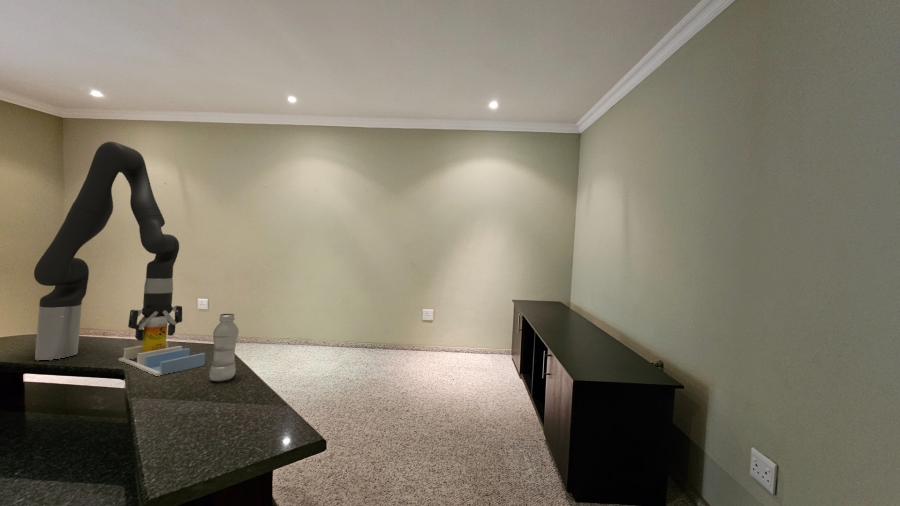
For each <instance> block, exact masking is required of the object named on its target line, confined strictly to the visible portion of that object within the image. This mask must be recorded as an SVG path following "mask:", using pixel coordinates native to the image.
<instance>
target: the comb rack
mask: <svg viewBox="0 0 900 506" xmlns="http://www.w3.org/2000/svg"><path fill="white" fill-rule="evenodd" d="M190 353H191V348H189V347H187V348H186V347H185V348H183V346H182V345H178V346H177V345H176V346H172V347H169V341H167V340H166V347H165V349H160V350H154V351H149V352H143V353H142V345H138V346H137V345H136V346H130V347H124V348H123V356H122V357H119V358H118V360H119V361H122V362H125V363H127V364H130V365H133V366H135V367H137V368H139V369H141V370H143V371H146V372H148V373H150V374H149V375H151V374H153V375H155V376H159V377H161V376H160V375H163V376H165V375H164V374H167V375H169V374H168V373H171V374H174V373H173V372H175V373H178V371H179V372H182V371H187V370H190V369H195V368H199V367H203V366H204V367H205V364H206V353H205V352H202V353H197V354H191V355H190ZM134 357H137V359H136V361H135V360H134V361H133V360H129V359H130V358H134ZM119 361H118V362H119ZM122 362H121V363H122ZM144 364H145V365H144ZM141 370H140V371H141ZM143 371H142V372H143ZM146 372H145V373H146ZM148 373H147V374H148ZM153 375H152V376H153ZM155 376H154V377H155Z"/></svg>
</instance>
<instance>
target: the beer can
mask: <svg viewBox="0 0 900 506" xmlns="http://www.w3.org/2000/svg"><path fill="white" fill-rule="evenodd" d="M146 319H147V318H145V320H146ZM168 324H169V323H168V319H167V317H166V316H161V317H153V318H152V319H151V321H150V322H149V323H148V324H146V326H145V327H144V328H143V330H144V334H143V340H142V343H141V344H142V345H141V346H142V353H143V352H149V351H154V350H160V349H165V347H166V341H167V335H168Z"/></svg>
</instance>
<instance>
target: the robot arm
mask: <svg viewBox="0 0 900 506" xmlns="http://www.w3.org/2000/svg"><path fill="white" fill-rule="evenodd" d="M119 173H121V174H122V175H123V176H124V177H125V179H126V181H127V182H128V185H129V188H130V200H129V202H130V203H129V204H130V210H131V211H132V214H133V215H134V216H133V217H134V218H135V220H136V222H137V225H138V227H139V230H138V232H139V236H140V237H139V238H140V243H141V245H142V247H143V249H144V250H146V252H147V253H149V254H153V255H155V256H154V259H153V260H151V261H149V262H148V263H147V265H146V271H145V272H146V273H145V281H144V284H143V285H144V286H143V287H144V289H143V290H144V291H143V300H142V302H143V303H142V305H143V307H142V309H131V310H130V311H129V318H128V328H129V329H133V330H135V336H134V337H135V339H136V340H137V341H139V342H140V341H142V342H143V334H144V327H145V326H146V324H148V323H149V322H150V321H151V319H152V318H153V317H161V316H166V317H167V319H168V323H167V335H168V336H170V337H171V336H174V334H175V332H176V325H177V324H179V323H182V322H183V306H181V305H175V306H173V305H172V304H173V294H174V293H173V291H174V281H173V280H174V279H173V277H174V266H175V263H176V260H177V257H178V254H179V250H180V242H179V240H178V238H177V237H176V236H175V235H172V234H169V233H165V234H164V233H163V231H162V228H163V227H164V226H165V224H166V221H165V218H164V217H163V213H162V211H161V209H160V208H159V207H160V206H159V205H158V202H157V201H156V198H155V196H154V192H153V189H152V186H151V182H150V181H151V180H150V178H149V174H148V170H147V165H146V162H145V158H144V156H143V155H142V154H141V153H140V152H139V151H138V150H136V149H134V148H132V147H129V146H127V145H124V144H121V143H119V142H115V141H107V142H103V143H102V144H100V146H99V147H98V148H97V149H96V151H95V153H94V155H93V158H92V161H91V163H90V166H89V169H88V172H87V175H86V176H85V177H86V178H85V180H84V181H83V183H82V186H81V188H80V190H79V192H78V194H77V196H76V198H75V200H74V201H73V203H72V205H71V207H70V209H69V211H68V212H67V214H66V217H65V219H64V221H63V222H62V225H61V226H60V227H59V230H58V231H57V233H56V235H55V237H54V239H53V240H52V242H51V243H50V245H49V246H48V247H47V248H46V250H45V252H44V253H43V254H42V255H41V257H40V258H39V260H38V261H37V263H36V265H35V267H34V271H33V277H34V280H35V281H36V283H38V284H39V285H41V286H45V287H46V286H47V287H53V286H54V288H53V289H52V291H51V292H49V293H47V294H46V295H43V296H41V298H40V299H39V306H38V317H37V331H36V342H35V353H34V360H36V361H39V360H49V361H54V360H53V359H59V360H61V359H60V358H65V357H69V356H73V355H76V354H77V353H78V351H79V341H80V340H79V339H80V328H81V317H82V304H83V303H82V302H83V299H84V298H85V296H86V294H87V291H88V282H89V277H90V276H89V275H90V269H89V266H88V264H87V262H86V261H85V260H83V259H82V258H78V257H75V256H76V254H77V253H78V252H79V250H80V249H81V248H82V247H83V246H85V244H87V243H88V242H89V241H91V240H92V239H93V238H94V237H96V236H97V235H98V234H100V233H101V232H102V231H103V230H104V229H105V227H106V226H107V224H108V221H109V220H110V218H111V216H112V214H113V212H114V201H113V194H112V191H113V190H112V188H113V184H114V182H115V181H116V178H117V176H118V174H119ZM172 312H174V318H173V317H172V315H171V313H172ZM140 315H143V316H142V318H140V320H139V322H138V318H139V317H140ZM145 318H147V319H146V320H145ZM77 355H78V354H77ZM77 355H76V356H77ZM73 357H74V356H73ZM69 358H70V357H69ZM65 359H66V358H65Z"/></svg>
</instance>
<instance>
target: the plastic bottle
mask: <svg viewBox="0 0 900 506" xmlns="http://www.w3.org/2000/svg"><path fill="white" fill-rule="evenodd" d="M218 320H219V324H217V325H216V327H215V328H214V329H213V333H212V336H213V337H212V339H213V357H212V363H211V365H210V368H209V372H208V373H209V374H208V375H209V379H210V380H211V381H212V382H224V381H229V380H231V379H233V377H234V376H235V373H236V370H237V369H236V362H235V360H236V359H235V355H236V354H235V353H236V346H237V341H238V336H239V331H240V330H239V327H238V326H237V324H236V323H235V322H234V321H235V313H229V312H228V313H222V314H220V315H219V319H218Z"/></svg>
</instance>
